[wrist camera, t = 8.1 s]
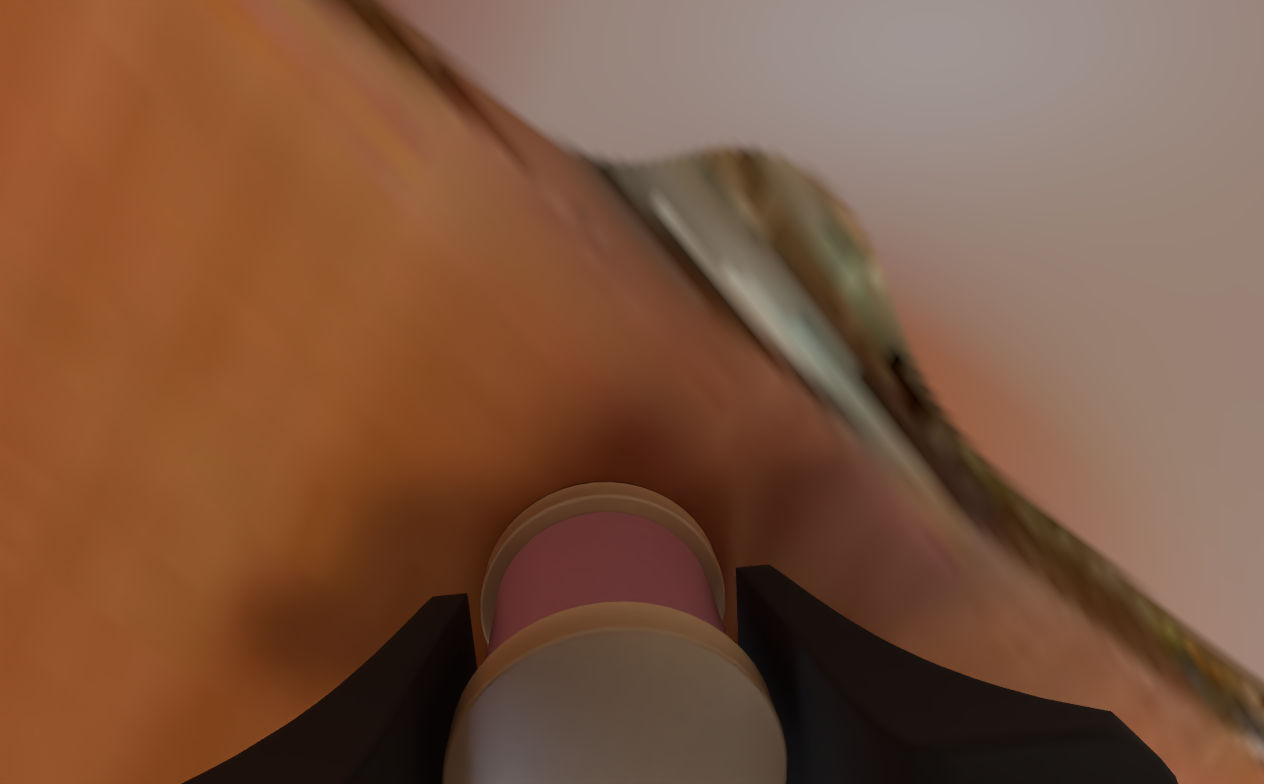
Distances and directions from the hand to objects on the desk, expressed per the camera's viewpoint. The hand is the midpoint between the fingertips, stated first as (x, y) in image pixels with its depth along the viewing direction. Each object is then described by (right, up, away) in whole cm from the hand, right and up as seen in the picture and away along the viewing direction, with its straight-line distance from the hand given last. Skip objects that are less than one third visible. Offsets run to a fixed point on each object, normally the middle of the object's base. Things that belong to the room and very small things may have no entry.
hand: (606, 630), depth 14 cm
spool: (0, 0, +1) cm, 1 cm away
